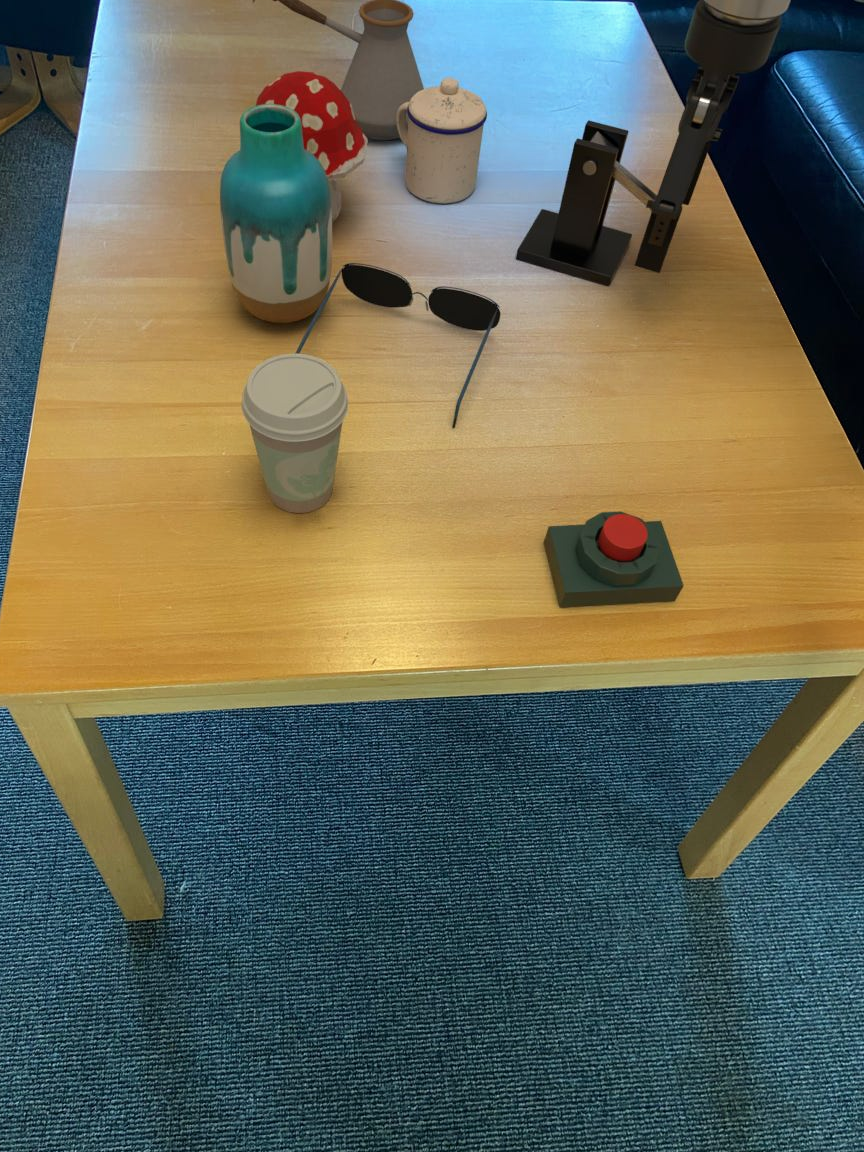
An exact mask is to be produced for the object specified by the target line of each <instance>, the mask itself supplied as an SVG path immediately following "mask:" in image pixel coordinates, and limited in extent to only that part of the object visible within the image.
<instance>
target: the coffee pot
mask: <svg viewBox="0 0 864 1152" xmlns="http://www.w3.org/2000/svg"><path fill="white" fill-rule="evenodd" d="M255 1H256V0H252V3H253V4H255ZM272 1H273V2H278V1H279V3H281V4H282V5H284V6H285V7H286V8H288V9H289V10H290V11H292V12H294V13H296V14H298V15H300V16H302V17H305V18H306V19H307V18H308V19H309V20H312V21H314V22H316V23H317V24H321V25H323V26H327V27H328V28H330V29H332V30H334V31H335V32H338V33H339V34H341V35H342V36H345V37H347V38H348V39H350V40H351V41H354V42H356V43H357V44H358V45H357V47H356V49H355V52H354V54H353V57H352V60H351V62H350V65H349V67H348V70H347V73H346V74H345V77H344V80H343V83H342V85H341V88H340V90H341V91H342V93H343V94H344V95H345V96H346V98H347V99H348V101H349V102H350V103H351V105H352V108H353V111H354V115H355V119H356V122H357V125H358V126H359V128H360V129H361V131H362V132H363V134H364V135H365V136H366V138H367V139H372V140H378V141H392V140H397V139H401V138H400V135H399V132H398V128H397V120H396V118H397V111H398V109H399V107H400V106H401V105H402V104H404V103H406V102H410V100H411V98H412V97H413V96H414V95H415V94H416V93H417V92H419V91H421V90H423V89H425V87H424V84H423V81H422V78H421V74H420V70H419V68H418V65H417V64H418V63H417V61H416V57H415V54H414V51H413V48H412V43H411V41H410V38H409V35H408V28H409V23H410V22H411V21H412V20H413V18H414V11H413V8H412V7H411V6H410V5H408V3H405V2H403V1H401V0H368V1H366V2H364V3H362V4H361V5H360V7H359V9H358V15H359V17H360V18H361V20H362V22H363V23H362V24H363V32H362V33H360V32H358V31H355V30H353V29H351V28H350V27H347V26H345V25H343V24H342V23H340V22H337V21H335V20H333V19H331V18H329V17H328V16H327V15H325V14H323V13H321V12H320V11H318V10H317V9H315V8H313V7H312V6H310V5H308V4H307V3H304V2H303V1H301V0H272ZM408 122H409V116H408V114H407V111H406V126H407V129H408Z"/></svg>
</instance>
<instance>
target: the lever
mask: <svg viewBox="0 0 864 1152" xmlns="http://www.w3.org/2000/svg"><path fill="white" fill-rule="evenodd" d="M590 142H594V143H597V144H601V145H605V146H609V147H613V148H616V147H615V146H614V145H613V144H612V143H611V142H609V141H608V140H607V139H606V138H605V137H604V136H602V135H601V134H600V133H599V132H598V131H597V132H596V133H595V135H594V136H593V137H592V139H591V140H590ZM616 149H617V148H616ZM612 177H613V178H614V179H615V181H616V182H617V183H619V184H620V185H621V186H622V187H623V188H624V189H626V190H627V191H628V192H629V193H630V194H631V195H633V196H634V197H635V198H636V199H638V201H639V202H641V203H642V204H643V205H644V206H646V205H647V202H648V199H649V200H652V201H655V200H656V197H657V194H656V193H655V192H653V190H651V189H650V188H649V187H648V186H646V185H645V184H644V182H642V181H641V180H639V179H638V178H637V177H636V175H634V174H633V173H632V172H631V171H629V170H628V169H627V168H626V167H625V166H623V164H621V162H620V163H619V162H617V161H616V162H615V165H614V169H613V173H612ZM648 209H649V210H650V211H651V209H650V208H648Z"/></svg>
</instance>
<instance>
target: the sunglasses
mask: <svg viewBox="0 0 864 1152" xmlns="http://www.w3.org/2000/svg"><path fill="white" fill-rule="evenodd" d="M340 276H341V279H342V282H343V285H344V287H345V289H347V290H348V291H349V292H350V293H351V294H352V295H354V296H355V297H357V298H358V299H360V300H362V301H364V302H365V303H368V304H371V305H375V306H378V307H382V308H393V309H396V308H406V307H411V305H412V304H413V302H414V297H413V295H416V294H418V295H420V296H422V297H423V298H424V299H425V301H424V302H425V303H424V305H425V309H426V311H427V312H428V311H429V310H430V311H431V313H432V314H433V315H434V316H436V317H437V318H439V319H440V320H443V321H444V322H445V323H448V324H450V325H452V326H454V327H458V328H460V329H461V328H462V329H465V330H469V331H474V332H475V331H476V332H482V331H485V334H484V336H483V338H482V341H481V344H480V345H479V348H478V350H477V353H476V355H475V357H474V360H473V362H472V365H471V367H470V369H469V372H468V374H467V377H466V379H465V381H464V383H463V386H462V389H461V391H460V393H459V396H458V398H457V400H456V404H455V409H454V416H453V422H452V429H454V428H456V425H457V421H458V417H459V413H460V412H459V411H460V407H461V403H462V401H463V398H464V397H465V394H466V392H467V389H468V386H469V383H470V382H471V379H472V378H473V377H472V376H473V374H474V371H475V369H476V367H477V364H478V362H479V360H480V357H481V355H482V352H483V350H484V347H485V345H486V343H487V340H488V338H489V335H490V332H491V330H493V329H495V328H497V326H498V325H499V323H500V320H501V310H500V309H501V307H500V305H499V304H498V303H497V302H496V301H495V300H493V299H492V298H490V297H488V296H485V295H483V294H480V293H477V292H476V291H475V292H474V291H471V290H468V289H467V290H466V289H465V288H459V287H453V286H445V285H443V286H437V287H435V288H433V289H432V290H430V294H429V295H428V297H427V296H426V295H425V294H424V293H422V292H420V291H415V292H413V290H412V288H411V287H412V285H411V284H410V282H409V281H408V279H406V278H405V277H404V276H403V275H400V274H398V273H396V272H394V271H392V270H388V269H387V268H383V267H380V266H376V265H371V264H367V263H366V264H365V263H359V262H348V263H344V264H343V265H342V267H341V269H340V270H339V272H338V273H337V275H336V276H335V278H334V280H333V282H332V284H331V285H330V287H329V288H328V291H327V294H326V296H325V298H324V300H323V302H322V304H321V305H320V306H319V307H318V309H317V310H316V311H317V312H316V313H315V315H314V317H313V319H312V320H311V322H310V324H309V325H308V328H307V330H306V332H305V334H304V336H302V337H303V338H302V339H301V341H300V343H299V345H298V347H297V348H296V351H295V353H297V354H301V351H302V349H303V348H304V345H305V344H306V342H307V340H308V338H309V336H310V334H311V332H312V330H313V329H314V327H315V325H316V323H317V322H318V319H319V317H320V315H321V314H322V311H323V310H324V307H325V306H326V304H327V302H328V300H329V298H330V296H331V294H332V292H333V291H334V288H335V286H336V285H337V282H338V280H339V278H340Z"/></svg>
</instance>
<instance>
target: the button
mask: <svg viewBox="0 0 864 1152" xmlns="http://www.w3.org/2000/svg"><path fill="white" fill-rule="evenodd" d="M630 515H631V514H630ZM630 515H626V514H617V515H614V516H611V517H610V518H608V519H607V520H606V521H605V523H604V525H603V528H602V530H601V533H600V535H599V538H598V544H599V547H600V549H601V551H602V552H603V553H604V554H605V555H606V556H608V557H609V558H611V559H613V560H616V561H631V560H633V559H635V558H636V557H638V556H639V554H640V553H641V551H642V549H643V546H644V544H645V542H646V540H647V537H648V533H647V529H646V527H645V525H644V524H643V523H642V522H641V521H640V520H638V519H637V518H635V517H636V516H635V517H633V516H634V515H632V516H630Z"/></svg>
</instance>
